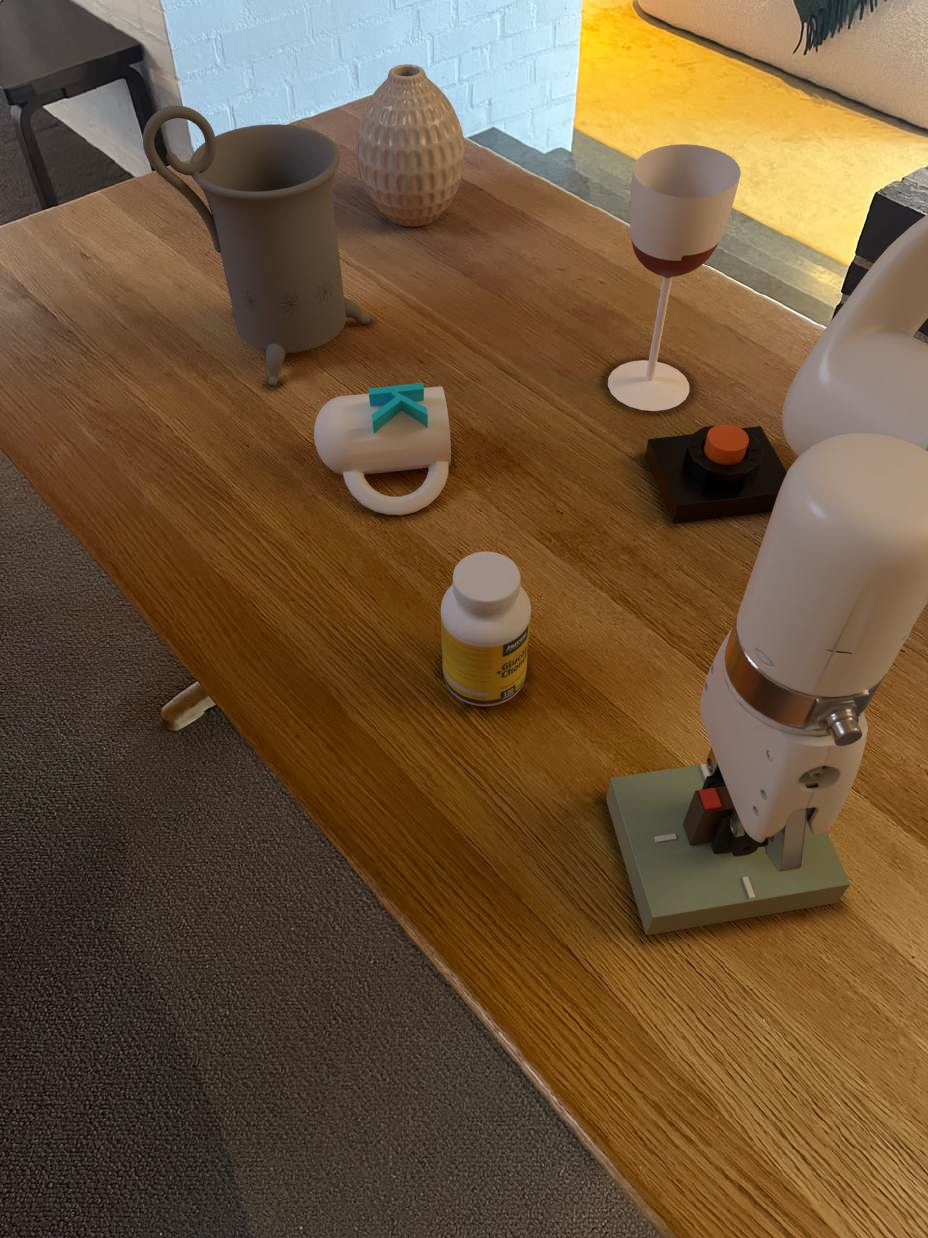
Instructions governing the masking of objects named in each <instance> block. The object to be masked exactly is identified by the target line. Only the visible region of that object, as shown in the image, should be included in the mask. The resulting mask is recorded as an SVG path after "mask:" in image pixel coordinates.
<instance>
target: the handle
mask: <svg viewBox="0 0 928 1238" xmlns="http://www.w3.org/2000/svg"><path fill="white" fill-rule="evenodd" d="M734 808H735V807H734V804H733V802H732V799H731V797H730V794H729V792H728V789H727V786H721V787H715V788H709V789H702V790H696V791H695V792H694V795H693V798H692V800H691V803H690V806H689V808H688V811H687V814H686V816H685V819H684V822H683V827H684V829H685V832H686V835H687V838H688V841H689V844H690V846H691V845H697V844H704V843H710V842H712V841H713V839H714V837H715V834H716V832H717V830H718V827H719V825H720V823H721V820H722V818H724V817H726V816H730V815H732V813H733V810H734Z"/></svg>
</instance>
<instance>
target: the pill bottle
mask: <svg viewBox="0 0 928 1238" xmlns="http://www.w3.org/2000/svg"><path fill="white" fill-rule="evenodd" d="M521 578H522V577H521V572H520V569H519V567H518V565H517V564H516V563H515V561H513V560H512V559H511V558H509V557H508V556H506V555H504V554H502V553H499V552H494V551H478V552H474V553H471V554H469V555H466V556H465V557H463V558H461V560H459V562H458V563H457V564H456V565H455V567H454V570H453V573H452V584H451V585H450V586H449V587H448V589H447V590H446V591H445V593H444V595H443V597H442V600H441V605H440V633H441V637H440V638H441V657H442V658H441V659H442V661H441V662H442V675H443V679H444V682H445V685H446V687H447V688H448V690H449V691H450V693H452V695H454V696H455V697H456V698H457V699H459V700H460V701H462V702H464V703H466V704H469V705H473V706H478V707H493V706H498V705H501V704H503V703H506V702H508V701H510V700H511V699H513V698H514V697H515V696H516V695H517V694H518V693H519V691H521V689H522V688H523V686H524V683H525V680H526V676H527V667H528V656H529V642H530V628H531V616H532V605H531V600H530V598H529V595H528V593H527V592H526V590H525V589H524V587H522V586H521V580H522V579H521Z"/></svg>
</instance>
